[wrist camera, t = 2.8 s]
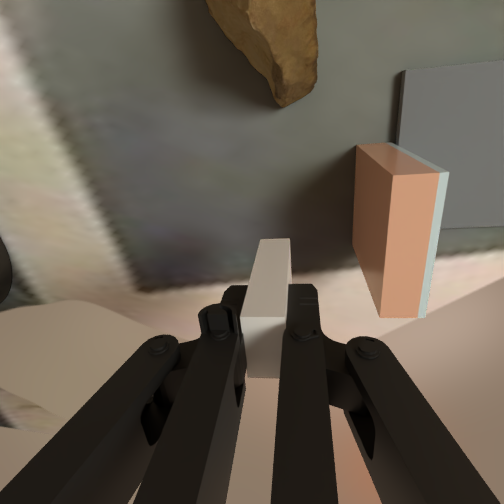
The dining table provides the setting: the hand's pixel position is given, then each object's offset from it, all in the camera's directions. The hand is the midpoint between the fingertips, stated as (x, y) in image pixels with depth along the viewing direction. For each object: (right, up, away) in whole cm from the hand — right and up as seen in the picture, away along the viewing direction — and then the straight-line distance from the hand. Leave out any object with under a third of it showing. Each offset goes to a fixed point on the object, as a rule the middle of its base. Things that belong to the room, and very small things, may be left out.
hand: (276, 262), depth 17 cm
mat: (+14, +8, +6) cm, 17 cm away
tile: (+8, +5, +8) cm, 12 cm away
